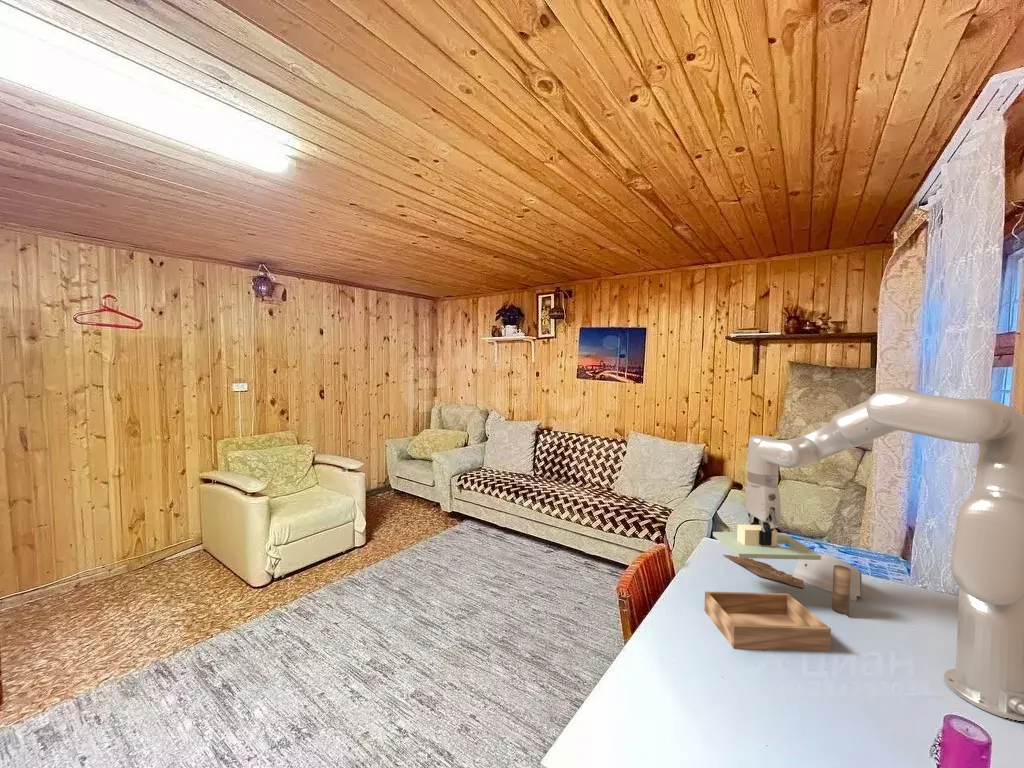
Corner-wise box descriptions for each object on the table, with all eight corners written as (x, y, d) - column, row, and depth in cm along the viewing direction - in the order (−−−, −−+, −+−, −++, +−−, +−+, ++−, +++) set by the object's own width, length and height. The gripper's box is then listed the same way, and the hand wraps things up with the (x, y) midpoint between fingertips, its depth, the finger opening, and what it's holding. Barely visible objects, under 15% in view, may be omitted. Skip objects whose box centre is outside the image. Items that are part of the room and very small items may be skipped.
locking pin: (852, 617, 108) (854, 571, 108) (838, 617, 108) (840, 571, 108) (841, 609, 112) (843, 565, 111) (828, 609, 112) (830, 565, 111)
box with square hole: (830, 654, 94) (830, 628, 93) (733, 651, 94) (734, 626, 94) (787, 615, 109) (788, 593, 108) (704, 613, 109) (704, 591, 109)
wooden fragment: (814, 585, 125) (814, 582, 125) (793, 594, 120) (793, 590, 120) (735, 552, 148) (735, 549, 148) (715, 558, 143) (715, 555, 143)
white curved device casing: (790, 577, 129) (796, 545, 131) (796, 578, 132) (801, 547, 134) (857, 601, 116) (862, 566, 117) (862, 602, 118) (867, 567, 120)
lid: (820, 559, 110) (821, 539, 110) (738, 557, 111) (739, 537, 110) (785, 537, 125) (785, 519, 125) (712, 535, 126) (713, 517, 125)
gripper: (795, 487, 109) (792, 554, 109) (758, 471, 125) (756, 530, 126) (766, 486, 109) (764, 554, 110) (734, 471, 126) (732, 529, 126)
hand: (760, 540), depth 118 cm, fingers closed on lid, 4 cm apart
